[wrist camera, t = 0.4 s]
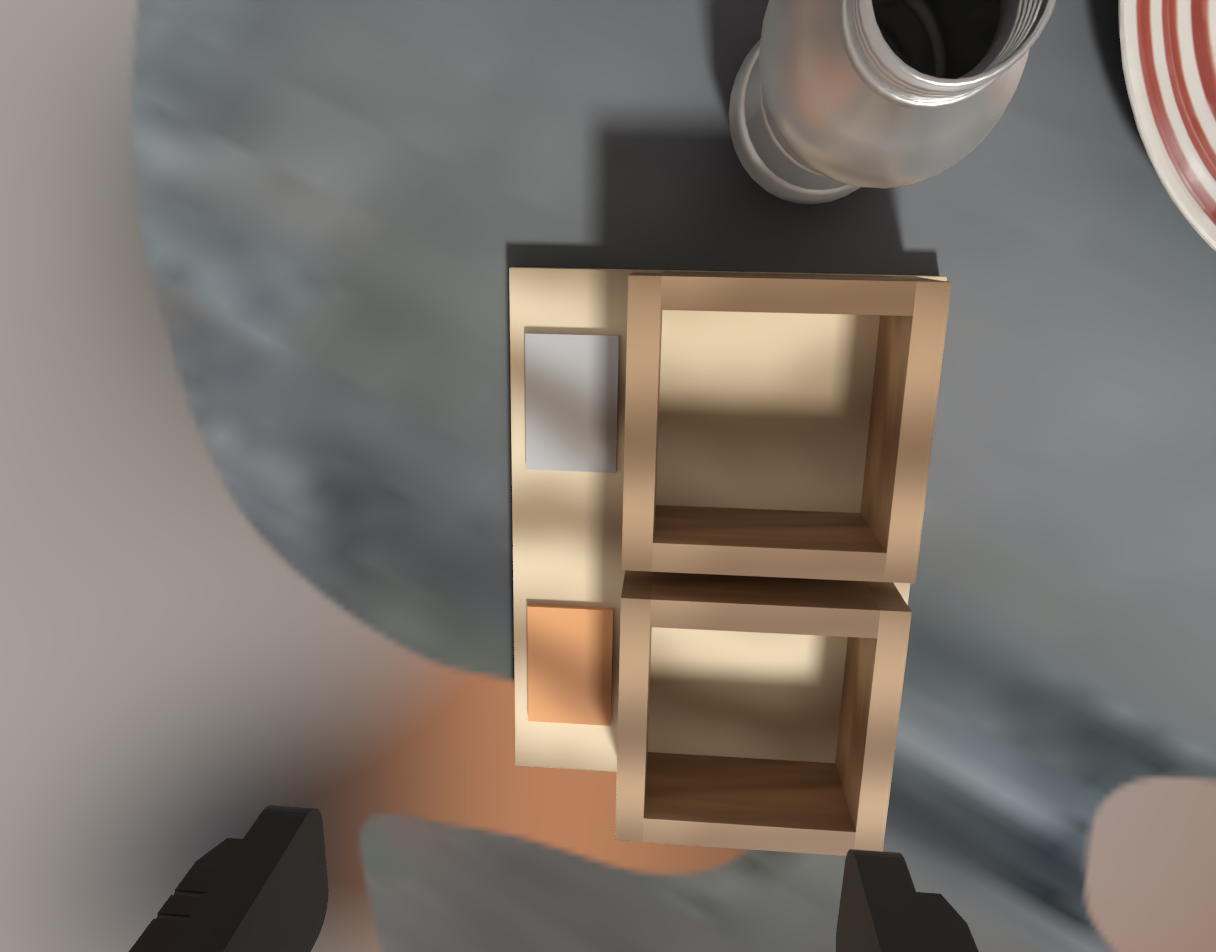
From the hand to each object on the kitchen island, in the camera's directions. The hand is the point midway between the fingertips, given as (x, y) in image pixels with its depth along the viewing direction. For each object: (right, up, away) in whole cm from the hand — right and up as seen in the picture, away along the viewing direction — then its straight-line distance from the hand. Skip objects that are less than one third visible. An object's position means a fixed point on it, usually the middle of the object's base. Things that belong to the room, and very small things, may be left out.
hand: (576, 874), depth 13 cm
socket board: (+5, +3, +27) cm, 27 cm away
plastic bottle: (+8, +20, +22) cm, 31 cm away
